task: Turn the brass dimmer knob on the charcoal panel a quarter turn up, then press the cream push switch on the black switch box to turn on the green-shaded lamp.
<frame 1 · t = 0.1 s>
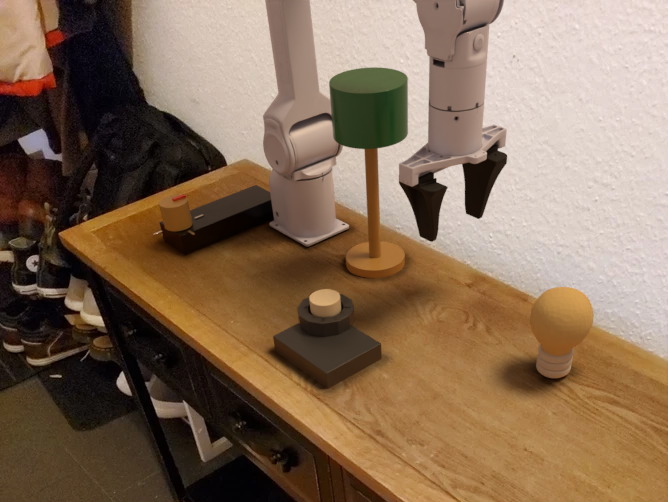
hand: (451, 226, 86), 10 cm above the table, tool pointing down, fingers open, 7 cm apart
lamp: (375, 263, 101), on the table
light bulb: (552, 372, 82), on the table
dimmer: (223, 228, 110), on the table
switch box: (327, 355, 86), on the table
dimmer knob: (175, 212, 104), point 5 cm above the table, hinge at 0.0°
lamp switch: (325, 303, 86), point 4 cm above the table, slide at 0.1 cm
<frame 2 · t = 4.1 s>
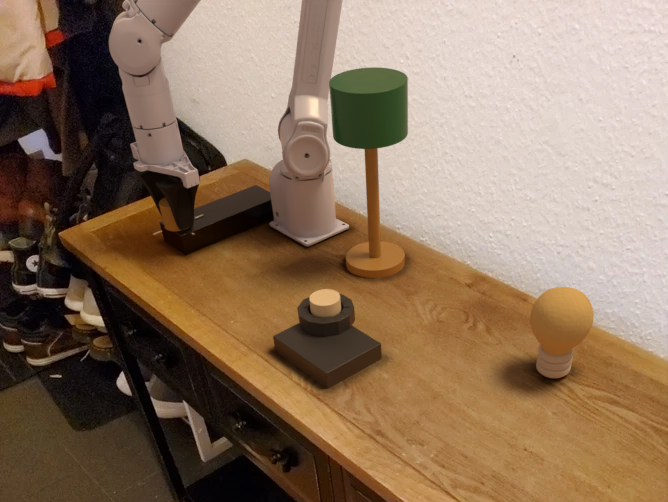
hand: (177, 221, 105), 4 cm above the table, tool pointing down, fingers closed on dimmer knob, 4 cm apart
dimmer knob: (175, 212, 104), point 5 cm above the table, hinge at 0.0°, touching gripper
everything else where it was.
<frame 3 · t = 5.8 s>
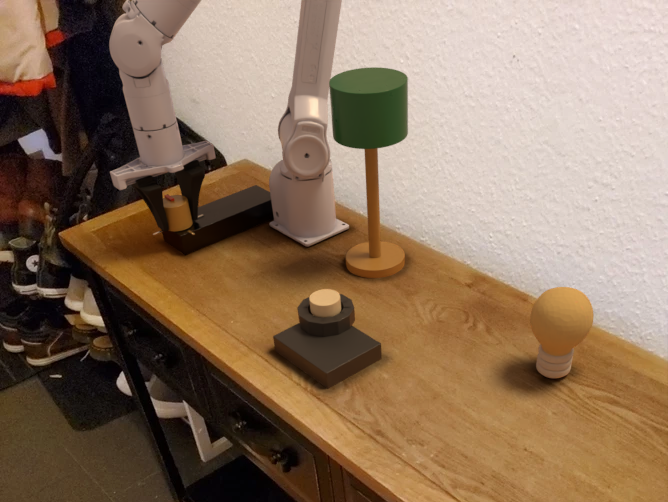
hand: (178, 223, 105), 3 cm above the table, tool pointing down, fingers closed on dimmer knob, 4 cm apart
dimmer knob: (175, 212, 104), point 5 cm above the table, hinge at 87.9°, touching gripper
everything else where it was.
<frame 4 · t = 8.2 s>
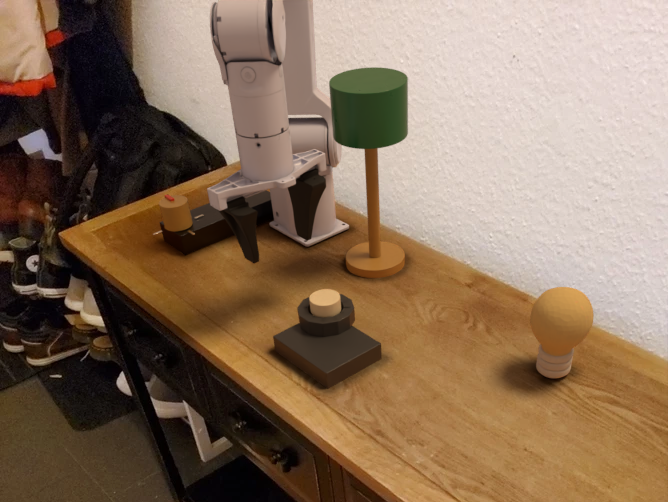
hand: (278, 248, 87), 9 cm above the table, tool pointing down, fingers open, 7 cm apart
dimmer knob: (175, 212, 104), point 5 cm above the table, hinge at 87.6°
everything else where it was.
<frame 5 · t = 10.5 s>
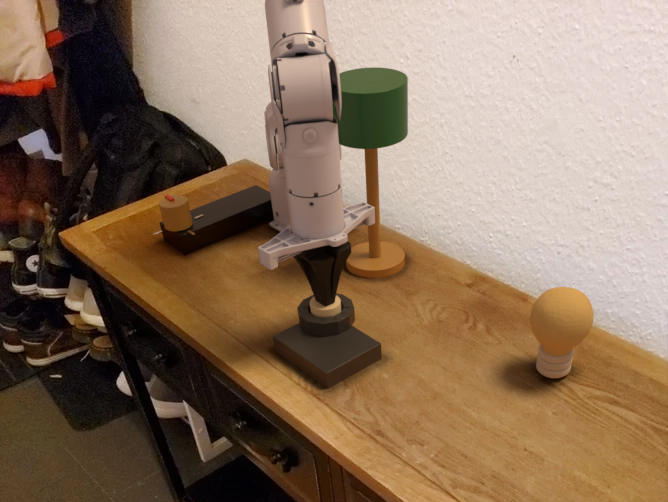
hand: (325, 301, 86), 5 cm above the table, tool pointing down, fingers closed, pressing on lamp switch
lamp switch: (325, 307, 86), point 4 cm above the table, slide at -0.4 cm, touching gripper
everything else where it was.
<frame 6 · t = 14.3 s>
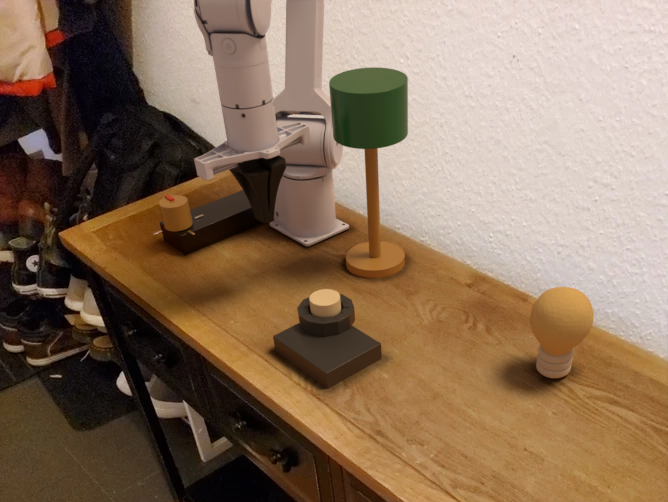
hand: (264, 219, 90), 10 cm above the table, tool pointing down, fingers closed
lamp switch: (325, 303, 86), point 5 cm above the table, slide at 0.1 cm
everything else where it was.
at the end: dimmer knob at +88° (first picture: +0°); lamp switch pushed in 1.2 cm at the most during the clip, back to where it started at the end; lamp switch slide at 0.1 cm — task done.
